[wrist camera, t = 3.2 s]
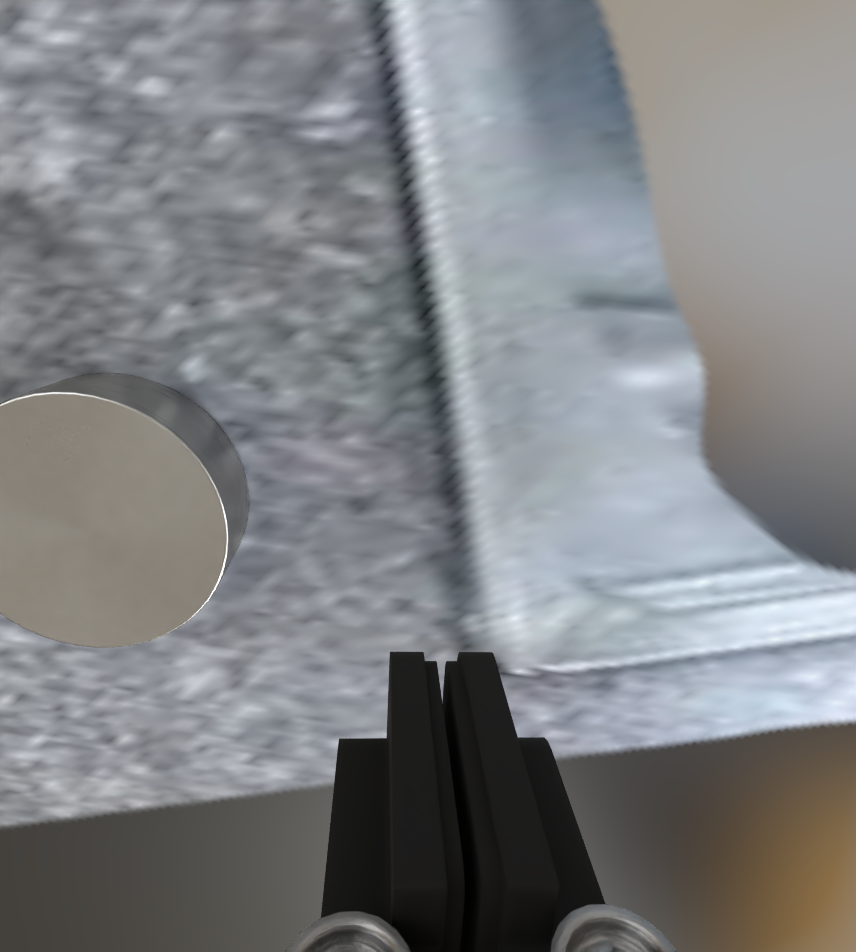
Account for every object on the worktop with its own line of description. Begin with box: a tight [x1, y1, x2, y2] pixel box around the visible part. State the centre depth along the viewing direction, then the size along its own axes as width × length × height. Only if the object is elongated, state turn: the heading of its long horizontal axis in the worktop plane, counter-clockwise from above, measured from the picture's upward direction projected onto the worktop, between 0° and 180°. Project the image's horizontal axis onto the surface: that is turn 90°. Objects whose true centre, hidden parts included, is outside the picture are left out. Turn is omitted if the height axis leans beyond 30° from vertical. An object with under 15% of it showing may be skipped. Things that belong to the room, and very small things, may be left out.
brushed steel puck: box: [0, 373, 249, 647], centre depth 16 cm, size 7×7×2 cm
